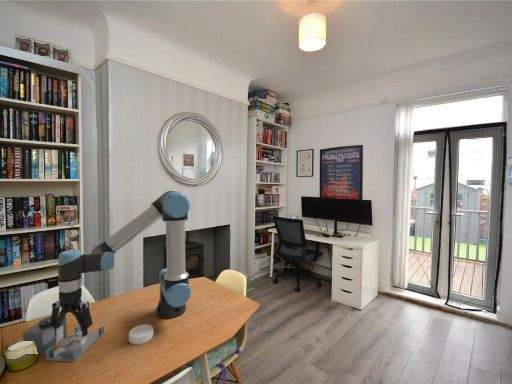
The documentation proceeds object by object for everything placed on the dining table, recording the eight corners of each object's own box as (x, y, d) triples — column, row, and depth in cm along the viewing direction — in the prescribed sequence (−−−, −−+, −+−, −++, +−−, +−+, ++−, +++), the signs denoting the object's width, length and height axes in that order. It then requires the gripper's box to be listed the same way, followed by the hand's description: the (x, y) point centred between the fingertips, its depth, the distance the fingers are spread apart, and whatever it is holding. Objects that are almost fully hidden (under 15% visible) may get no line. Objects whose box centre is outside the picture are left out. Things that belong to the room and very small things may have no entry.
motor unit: (104, 333, 115) (104, 310, 115) (75, 361, 98) (74, 334, 97) (54, 331, 116) (54, 309, 116) (16, 359, 98) (15, 333, 98)
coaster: (137, 348, 106) (137, 339, 106) (124, 339, 111) (123, 332, 111) (158, 335, 114) (158, 328, 114) (144, 328, 120) (144, 321, 120)
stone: (60, 341, 105) (60, 334, 105) (81, 334, 110) (81, 328, 110) (60, 353, 98) (60, 346, 98) (83, 346, 102) (83, 339, 102)
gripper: (102, 286, 106) (103, 338, 107) (52, 284, 107) (53, 336, 108) (90, 294, 98) (90, 350, 99) (36, 292, 99) (37, 348, 100)
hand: (71, 343), depth 104 cm, fingers closed on stone, 9 cm apart
